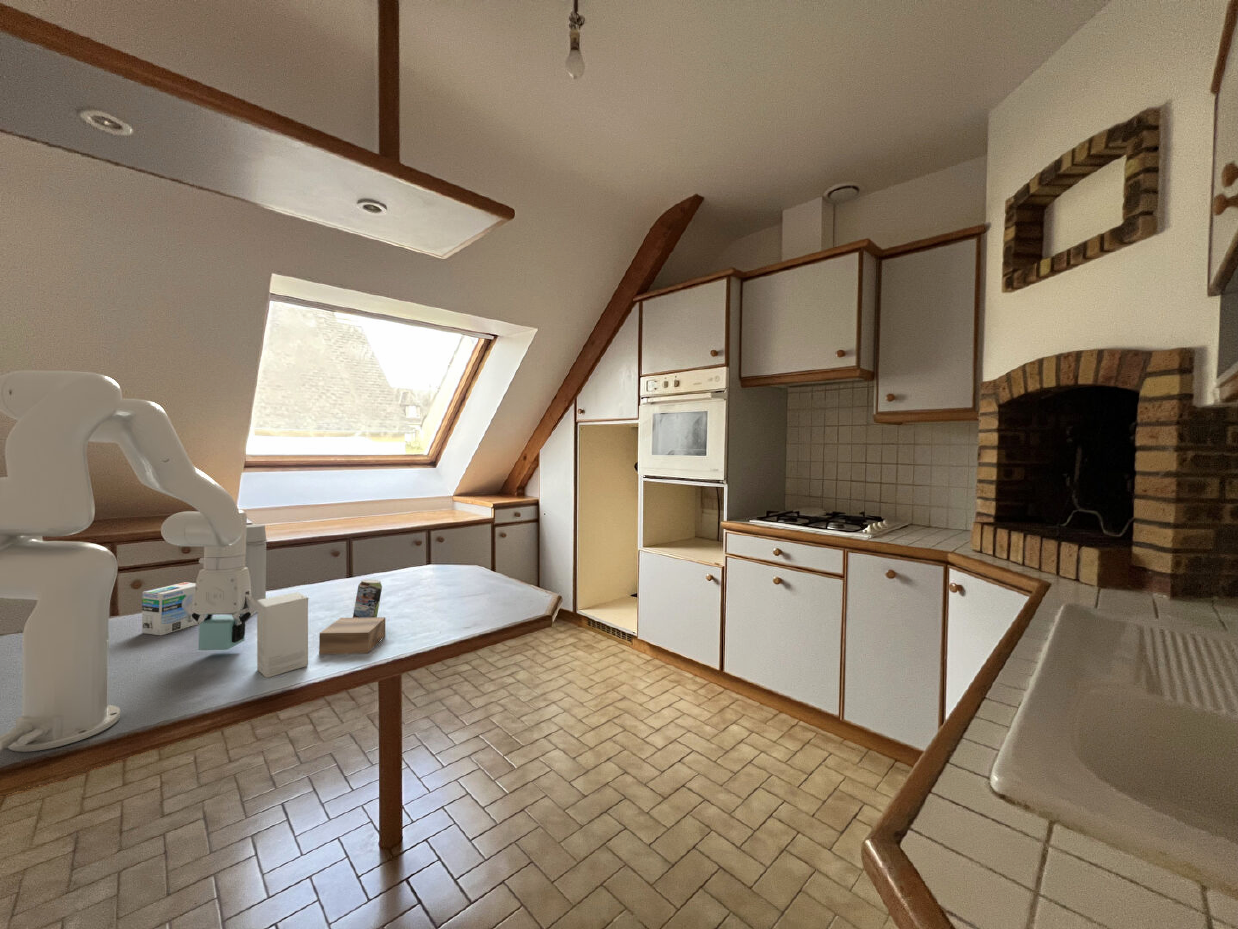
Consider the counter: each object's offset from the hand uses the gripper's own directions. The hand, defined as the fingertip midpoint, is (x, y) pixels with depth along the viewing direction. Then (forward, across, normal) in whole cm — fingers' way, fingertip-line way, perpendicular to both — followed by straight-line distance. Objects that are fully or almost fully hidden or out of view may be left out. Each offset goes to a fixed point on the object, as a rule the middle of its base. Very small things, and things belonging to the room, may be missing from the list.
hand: (222, 640), depth 114 cm
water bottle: (+3, -14, +33) cm, 36 cm away
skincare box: (+4, +18, -8) cm, 20 cm away
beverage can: (+3, +24, +21) cm, 32 cm away
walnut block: (+3, +27, +5) cm, 28 cm away
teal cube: (+1, 0, 0) cm, 1 cm away
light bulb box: (+3, -24, +19) cm, 31 cm away
